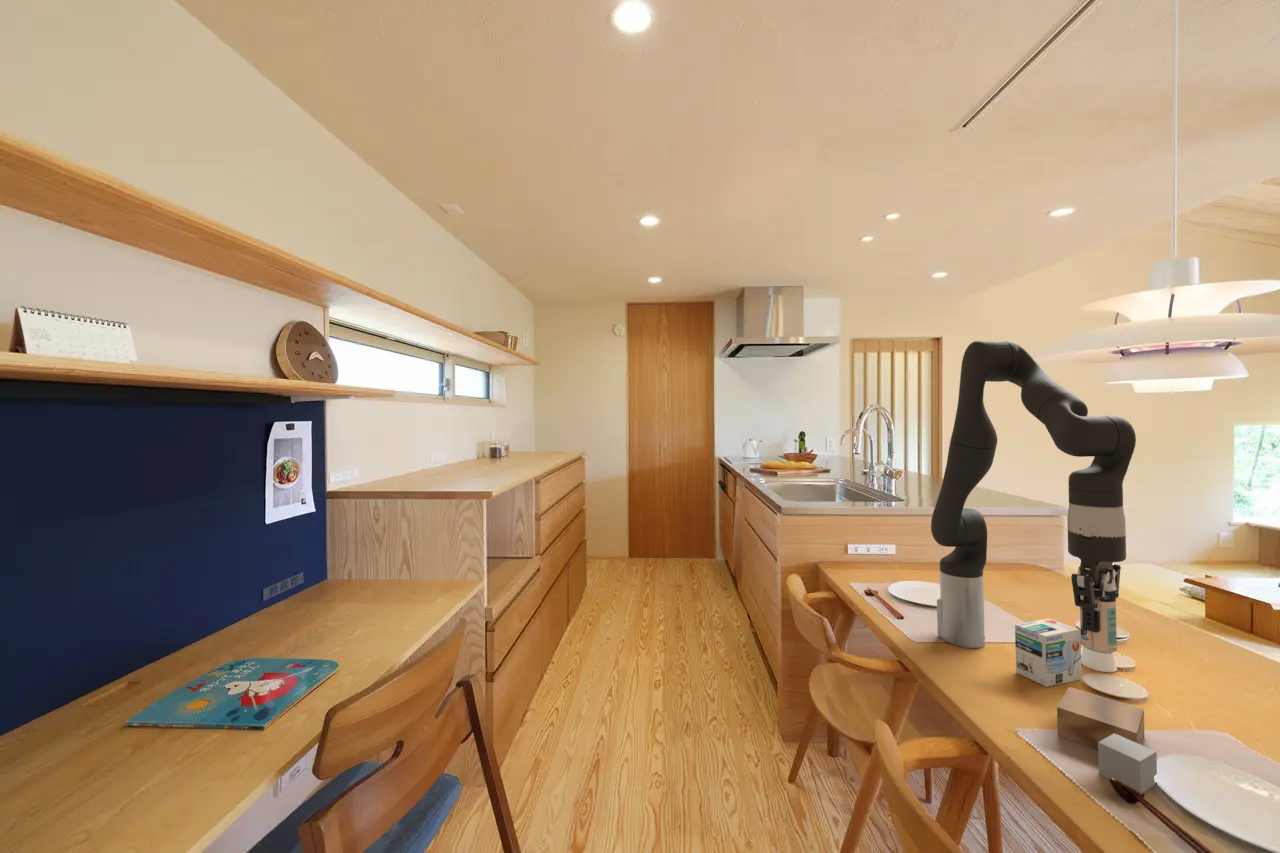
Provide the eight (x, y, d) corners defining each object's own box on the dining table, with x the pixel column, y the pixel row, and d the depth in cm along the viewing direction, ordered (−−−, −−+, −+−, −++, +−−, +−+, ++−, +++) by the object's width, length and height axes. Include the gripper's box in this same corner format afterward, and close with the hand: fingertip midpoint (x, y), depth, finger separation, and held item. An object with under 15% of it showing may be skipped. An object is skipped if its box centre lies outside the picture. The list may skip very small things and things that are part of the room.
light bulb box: (1046, 688, 103) (1045, 636, 103) (1014, 672, 110) (1013, 624, 110) (1083, 679, 106) (1082, 629, 106) (1049, 665, 113) (1048, 617, 113)
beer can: (1079, 640, 91) (1078, 574, 91) (1115, 647, 88) (1114, 579, 88) (1080, 650, 87) (1079, 581, 87) (1118, 657, 84) (1117, 587, 84)
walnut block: (1057, 735, 88) (1057, 707, 88) (1069, 713, 94) (1068, 686, 94) (1137, 764, 80) (1136, 733, 80) (1144, 737, 87) (1143, 708, 87)
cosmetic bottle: (1073, 659, 115) (1071, 563, 115) (1103, 660, 114) (1101, 564, 114) (1093, 672, 109) (1090, 571, 109) (1124, 673, 108) (1122, 572, 108)
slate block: (1098, 773, 78) (1098, 742, 78) (1115, 764, 81) (1114, 733, 81) (1140, 794, 74) (1140, 761, 74) (1157, 784, 76) (1156, 751, 76)
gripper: (1085, 521, 94) (1087, 611, 94) (1051, 531, 87) (1053, 629, 87) (1140, 528, 87) (1141, 625, 88) (1107, 540, 80) (1109, 645, 80)
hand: (1097, 626), depth 87 cm, fingers closed on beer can, 4 cm apart
